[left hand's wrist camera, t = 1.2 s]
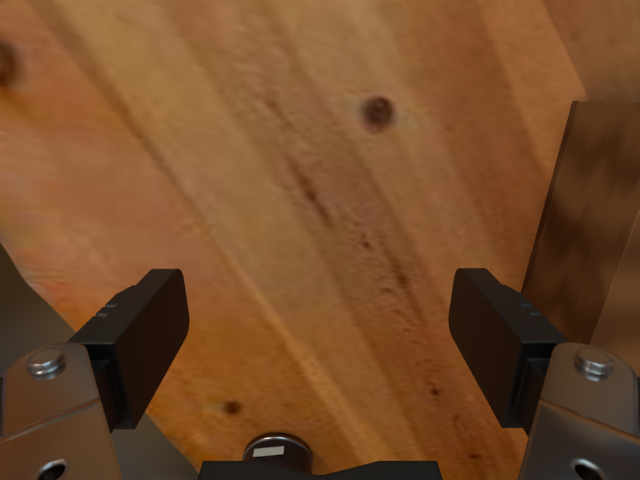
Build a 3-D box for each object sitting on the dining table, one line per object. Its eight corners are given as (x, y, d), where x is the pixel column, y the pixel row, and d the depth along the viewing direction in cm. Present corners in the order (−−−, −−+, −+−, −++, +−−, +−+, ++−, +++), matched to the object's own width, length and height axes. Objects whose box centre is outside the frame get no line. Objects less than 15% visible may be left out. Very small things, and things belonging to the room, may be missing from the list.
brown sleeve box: (605, 311, 42) (694, 379, 32) (516, 308, 42) (578, 375, 32) (682, 105, 34) (833, 111, 24) (572, 101, 34) (678, 104, 24)
